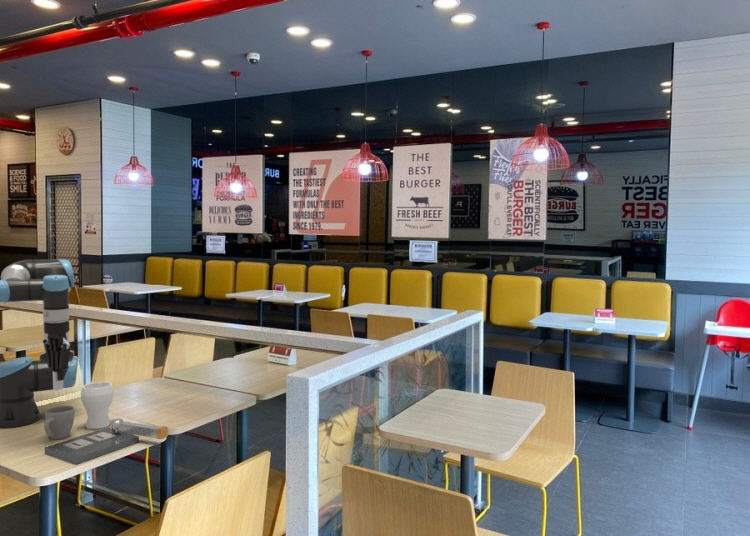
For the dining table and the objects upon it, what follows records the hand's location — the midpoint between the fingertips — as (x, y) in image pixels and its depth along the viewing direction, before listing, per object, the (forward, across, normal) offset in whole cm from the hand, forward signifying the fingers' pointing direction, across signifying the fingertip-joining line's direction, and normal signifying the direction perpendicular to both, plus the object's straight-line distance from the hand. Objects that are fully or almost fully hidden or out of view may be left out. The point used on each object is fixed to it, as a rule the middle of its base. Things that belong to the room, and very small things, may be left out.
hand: (58, 389), depth 193 cm
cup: (+18, 0, +15) cm, 23 cm away
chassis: (+17, +18, 0) cm, 25 cm away
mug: (+17, 0, 0) cm, 17 cm away
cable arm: (+14, +25, +12) cm, 32 cm away
